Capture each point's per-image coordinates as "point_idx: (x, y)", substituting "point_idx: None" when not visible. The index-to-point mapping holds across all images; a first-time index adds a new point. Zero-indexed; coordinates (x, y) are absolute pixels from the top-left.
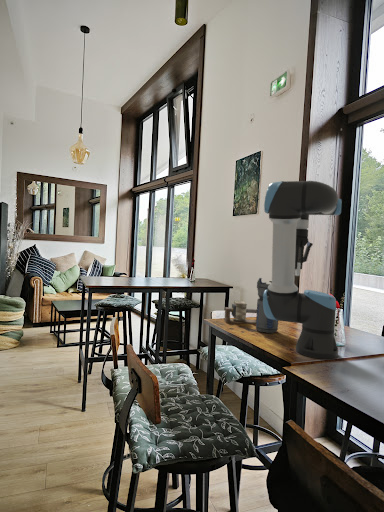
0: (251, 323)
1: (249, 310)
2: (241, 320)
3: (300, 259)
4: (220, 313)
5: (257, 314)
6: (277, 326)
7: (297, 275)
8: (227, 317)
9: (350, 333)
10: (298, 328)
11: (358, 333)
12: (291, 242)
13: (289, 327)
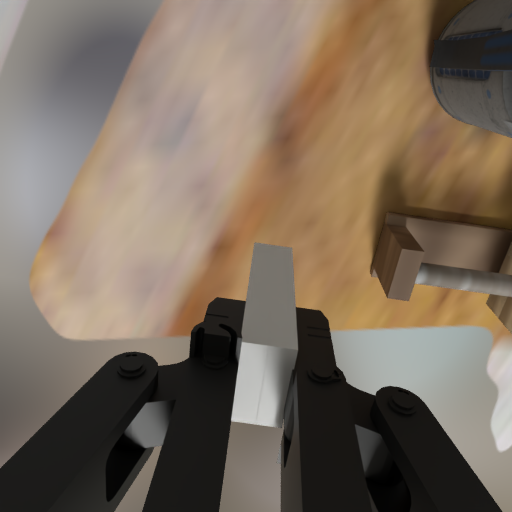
0: (474, 225)
1: (501, 277)
2: None
3: (232, 406)
4: (507, 422)
5: None
6: (460, 16)
7: (286, 247)
8: None
9: (4, 32)
10: (258, 136)
11: None
12: None
13: (299, 156)
